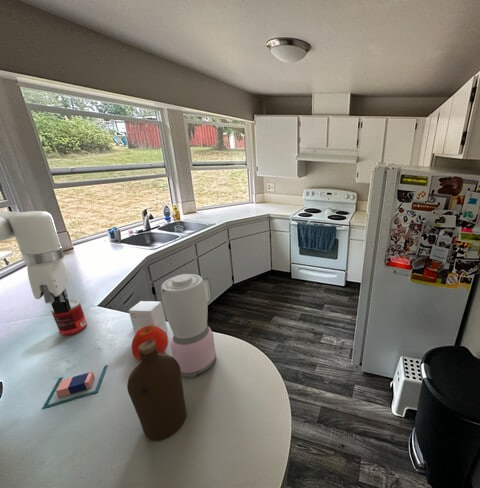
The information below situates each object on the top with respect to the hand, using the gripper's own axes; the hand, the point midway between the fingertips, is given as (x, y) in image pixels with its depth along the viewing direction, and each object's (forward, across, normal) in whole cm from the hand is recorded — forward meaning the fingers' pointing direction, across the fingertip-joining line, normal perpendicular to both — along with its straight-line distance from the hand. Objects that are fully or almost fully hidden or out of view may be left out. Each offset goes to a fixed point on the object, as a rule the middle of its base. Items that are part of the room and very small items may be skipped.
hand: (63, 311), depth 76 cm
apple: (+19, +5, +20) cm, 29 cm away
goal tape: (+19, +10, +2) cm, 22 cm away
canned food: (+20, -21, -8) cm, 30 cm away
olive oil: (+19, +34, +27) cm, 47 cm away
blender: (+19, +15, +35) cm, 43 cm away
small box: (+19, -6, +19) cm, 28 cm away
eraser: (+19, +12, +3) cm, 23 cm away
